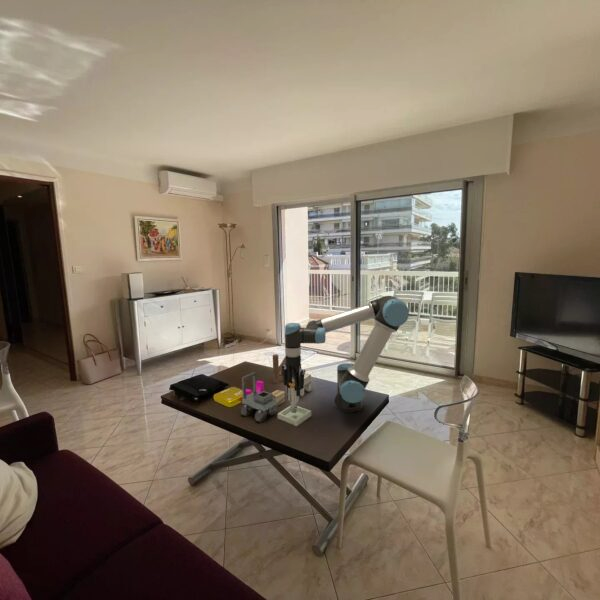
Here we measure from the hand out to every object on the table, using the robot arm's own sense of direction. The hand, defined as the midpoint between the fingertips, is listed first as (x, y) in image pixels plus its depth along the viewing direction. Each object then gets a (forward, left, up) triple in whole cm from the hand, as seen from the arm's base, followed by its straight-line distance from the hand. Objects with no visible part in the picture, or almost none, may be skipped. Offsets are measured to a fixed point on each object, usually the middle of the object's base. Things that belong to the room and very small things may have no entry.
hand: (293, 400), depth 158 cm
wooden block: (+36, -32, -9) cm, 49 cm away
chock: (+17, -7, -9) cm, 21 cm away
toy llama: (+15, -24, -9) cm, 30 cm away
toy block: (+31, -4, -10) cm, 33 cm away
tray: (0, 0, -9) cm, 9 cm away
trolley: (+16, +8, -9) cm, 20 cm away
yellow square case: (+41, +5, -10) cm, 42 cm away
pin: (0, 0, -6) cm, 6 cm away
